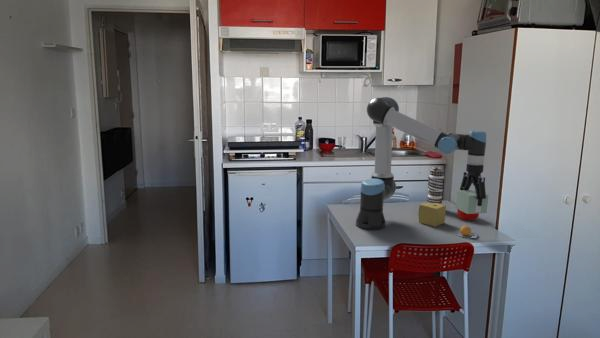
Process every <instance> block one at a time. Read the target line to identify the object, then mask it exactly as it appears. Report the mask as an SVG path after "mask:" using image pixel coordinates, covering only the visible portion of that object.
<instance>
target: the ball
mask: <svg viewBox="0 0 600 338" xmlns="http://www.w3.org/2000/svg"><path fill="white" fill-rule="evenodd" d="M459 232H461V234H462V235H464V236H468V235H470V234H471V232H472V229H471V227H470V226H469V225H462V227H461V228H460V230H459Z"/></svg>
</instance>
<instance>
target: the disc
mask: <svg viewBox="0 0 600 338" xmlns="http://www.w3.org/2000/svg"><path fill="white" fill-rule="evenodd" d="M474 234H476V233H475V232H472V231H471V234H470V235H468V236H464V235H462V234H461V232H460V231H459V232H457V233H456V235H457V236H458V237H461V238H463V237H464V238H463V239H467V238H470V239H469V240H472V239H471V237H472V236H475V235H474Z"/></svg>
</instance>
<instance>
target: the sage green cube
mask: <svg viewBox="0 0 600 338" xmlns="http://www.w3.org/2000/svg"><path fill="white" fill-rule="evenodd" d="M479 197H480V196H479ZM476 198H477V195H476V190H475V189H469V190H460V189H458V190H456V196H455V207H454V208H455V209H457V210H458V209H459V210H461V211H463V212H465V213H467V214H476V213H479V214H487V211H488V203H489V194H487V193H486V199H482V206H481V212H475V203H476Z"/></svg>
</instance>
